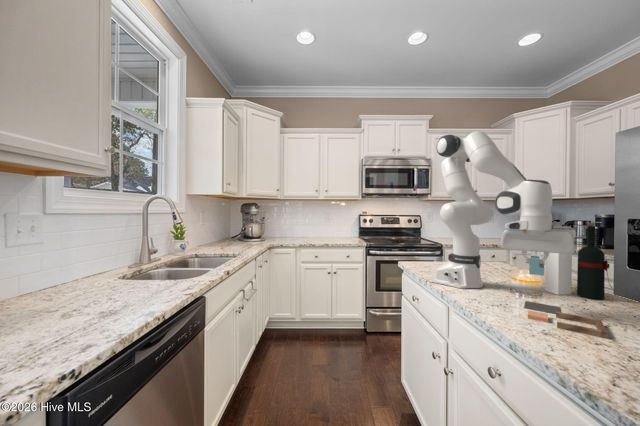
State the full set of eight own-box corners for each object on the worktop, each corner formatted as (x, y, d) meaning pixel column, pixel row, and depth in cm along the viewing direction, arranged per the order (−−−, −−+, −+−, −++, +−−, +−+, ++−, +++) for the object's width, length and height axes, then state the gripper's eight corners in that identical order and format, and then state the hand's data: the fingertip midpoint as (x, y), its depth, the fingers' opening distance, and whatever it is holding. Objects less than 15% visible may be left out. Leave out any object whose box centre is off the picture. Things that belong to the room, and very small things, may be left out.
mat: (523, 309, 95) (523, 308, 95) (525, 301, 102) (525, 300, 102) (561, 316, 88) (561, 315, 88) (560, 308, 96) (560, 307, 96)
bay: (557, 329, 79) (557, 322, 79) (555, 317, 87) (556, 311, 87) (607, 340, 72) (607, 332, 72) (600, 326, 81) (600, 319, 81)
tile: (527, 320, 86) (527, 314, 86) (528, 316, 90) (528, 310, 90) (548, 325, 83) (548, 318, 82) (547, 320, 86) (548, 314, 86)
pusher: (529, 273, 93) (529, 258, 93) (529, 270, 98) (529, 255, 98) (544, 275, 91) (544, 259, 90) (543, 272, 96) (544, 256, 96)
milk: (545, 290, 117) (545, 240, 117) (558, 290, 117) (558, 240, 117) (558, 295, 111) (558, 242, 111) (572, 294, 111) (572, 242, 111)
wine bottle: (613, 303, 102) (614, 224, 101) (576, 296, 109) (577, 223, 109) (612, 298, 107) (614, 223, 107) (577, 292, 114) (578, 222, 114)
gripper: (574, 225, 91) (574, 266, 91) (502, 223, 103) (501, 259, 104) (577, 226, 86) (576, 269, 86) (500, 224, 99) (499, 261, 99)
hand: (534, 264), depth 95 cm, fingers closed on pusher, 2 cm apart
